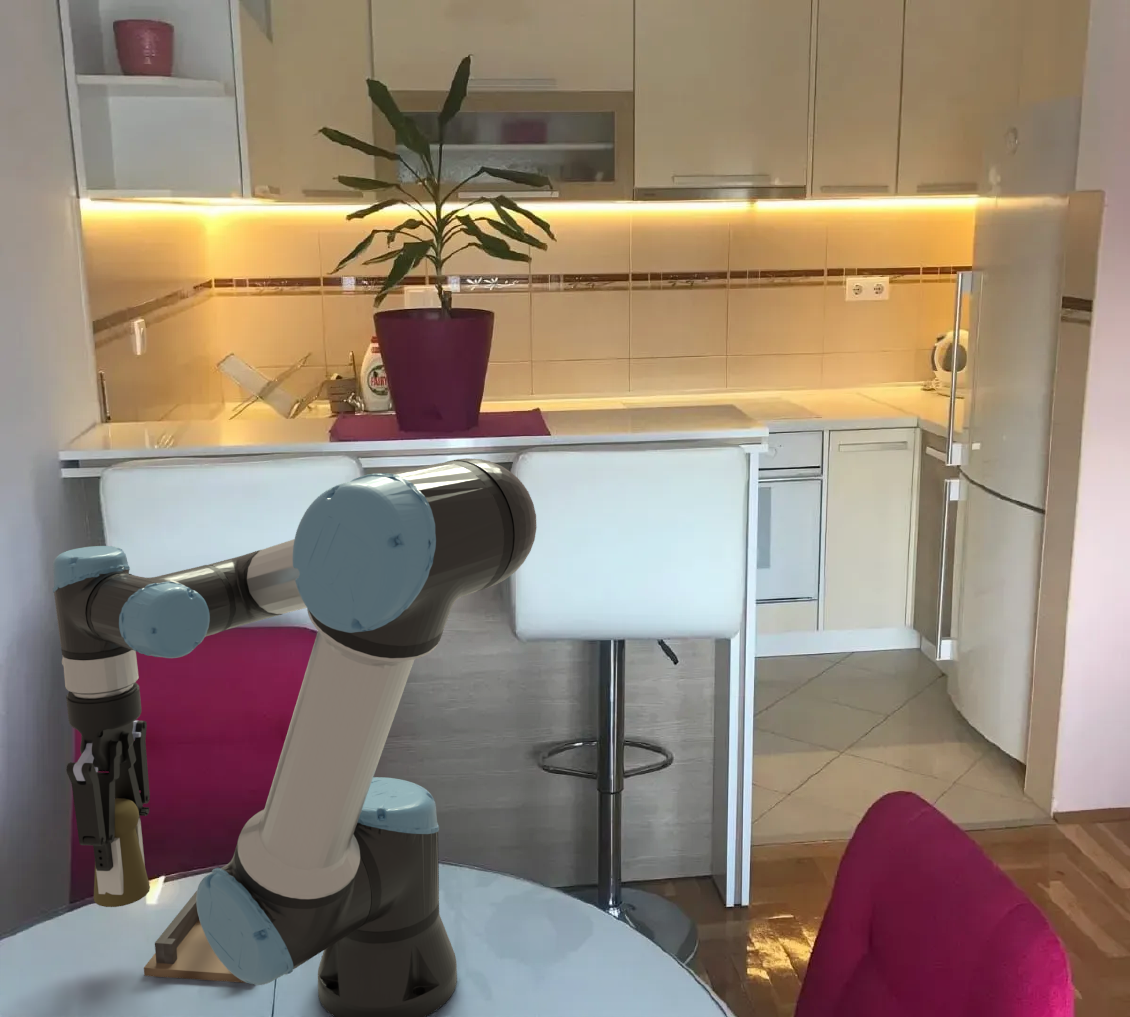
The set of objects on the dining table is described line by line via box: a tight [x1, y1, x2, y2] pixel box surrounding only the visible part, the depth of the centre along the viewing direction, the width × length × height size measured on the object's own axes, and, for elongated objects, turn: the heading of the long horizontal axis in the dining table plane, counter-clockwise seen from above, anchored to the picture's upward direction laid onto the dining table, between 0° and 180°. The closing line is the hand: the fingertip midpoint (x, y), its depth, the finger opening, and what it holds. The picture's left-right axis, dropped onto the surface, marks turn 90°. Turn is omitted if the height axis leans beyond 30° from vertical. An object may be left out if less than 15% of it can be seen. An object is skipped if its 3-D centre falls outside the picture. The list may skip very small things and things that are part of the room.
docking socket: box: [143, 890, 247, 984], centre depth 131 cm, size 13×13×4 cm
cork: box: [93, 798, 151, 908], centre depth 127 cm, size 6×6×11 cm
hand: (122, 881), depth 128 cm, fingers closed on cork, 4 cm apart
